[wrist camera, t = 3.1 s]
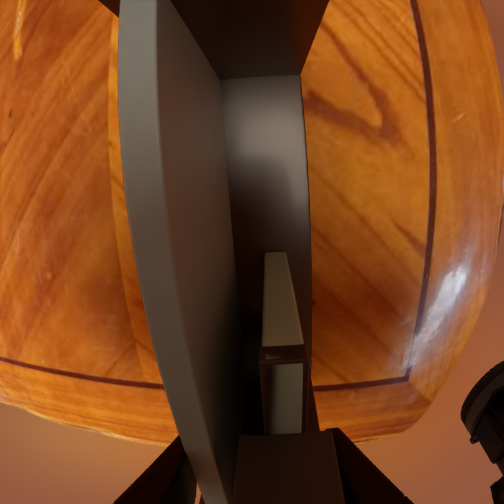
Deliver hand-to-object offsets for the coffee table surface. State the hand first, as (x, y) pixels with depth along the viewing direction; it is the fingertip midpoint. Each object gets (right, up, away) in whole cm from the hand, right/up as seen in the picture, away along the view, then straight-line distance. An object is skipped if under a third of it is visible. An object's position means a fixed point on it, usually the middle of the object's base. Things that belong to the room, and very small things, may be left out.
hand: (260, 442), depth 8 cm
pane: (+1, +2, +8) cm, 8 cm away
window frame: (0, +6, +8) cm, 10 cm away
